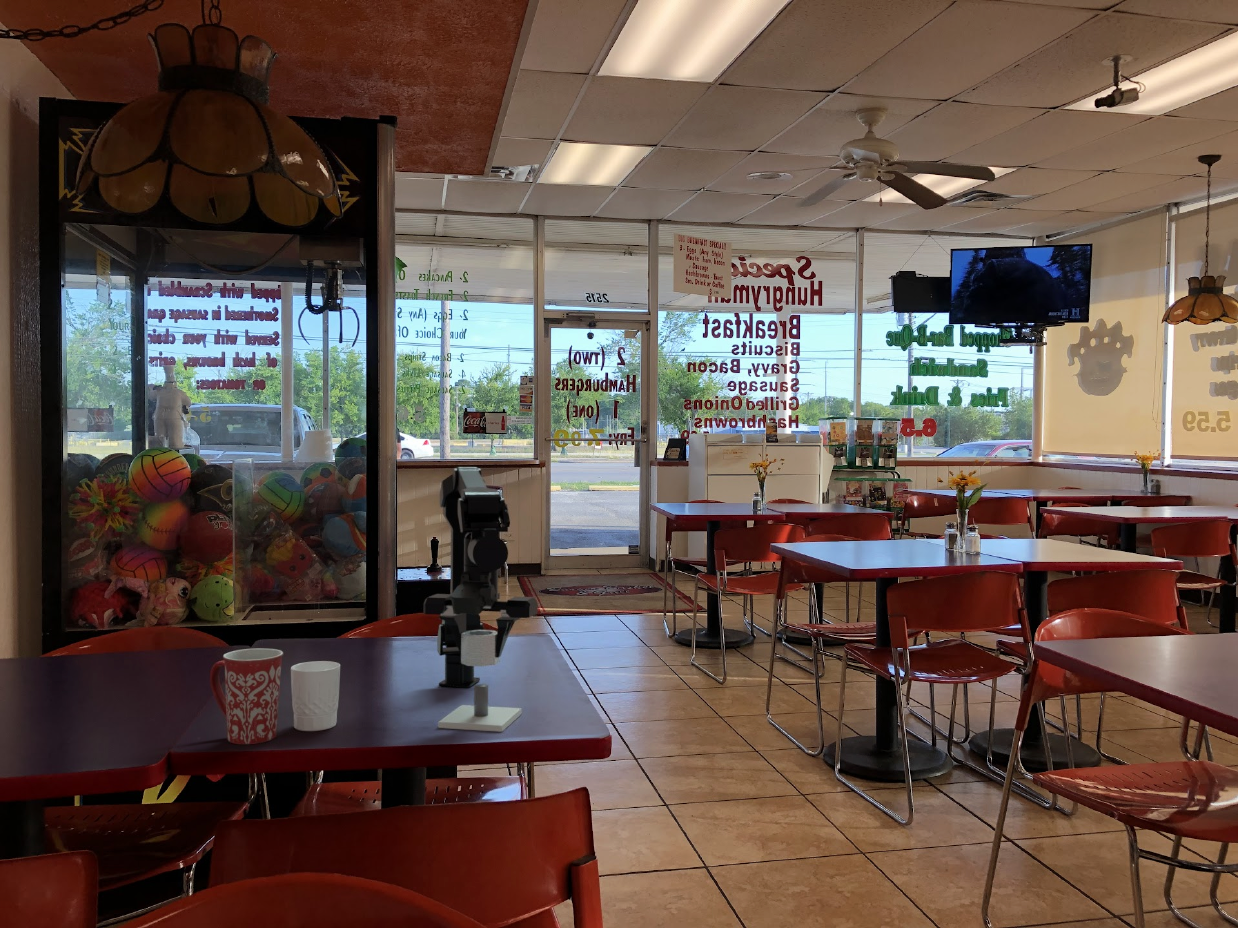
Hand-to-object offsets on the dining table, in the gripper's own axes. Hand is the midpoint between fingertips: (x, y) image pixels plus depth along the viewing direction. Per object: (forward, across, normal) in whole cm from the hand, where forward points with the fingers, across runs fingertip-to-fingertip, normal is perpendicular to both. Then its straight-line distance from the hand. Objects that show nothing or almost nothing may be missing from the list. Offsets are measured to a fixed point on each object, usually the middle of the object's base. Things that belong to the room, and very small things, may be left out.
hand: (480, 656), depth 161 cm
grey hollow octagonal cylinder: (+1, 0, 0) cm, 1 cm away
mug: (+11, -34, -17) cm, 39 cm away
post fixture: (+11, 0, 0) cm, 11 cm away
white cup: (+11, -26, -9) cm, 29 cm away
